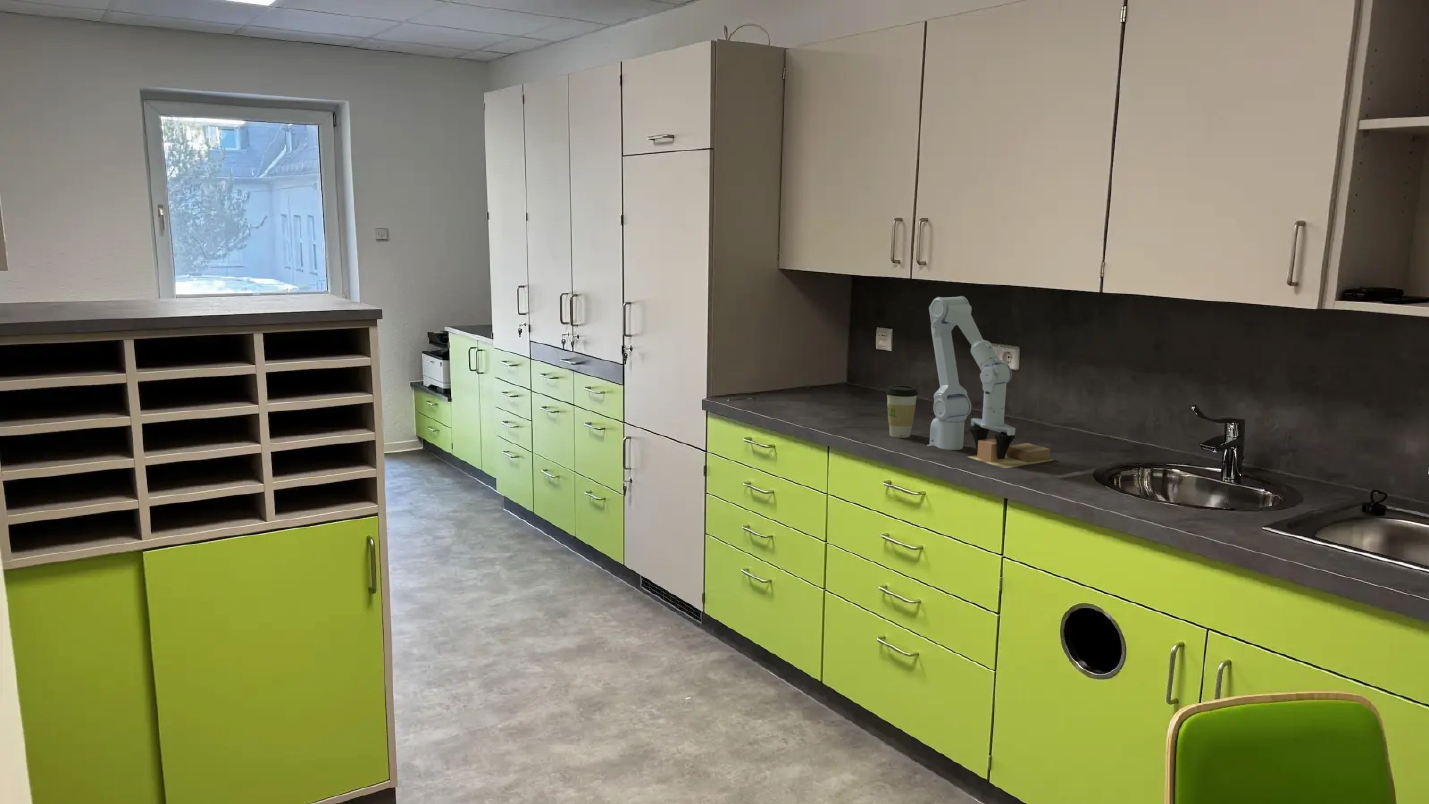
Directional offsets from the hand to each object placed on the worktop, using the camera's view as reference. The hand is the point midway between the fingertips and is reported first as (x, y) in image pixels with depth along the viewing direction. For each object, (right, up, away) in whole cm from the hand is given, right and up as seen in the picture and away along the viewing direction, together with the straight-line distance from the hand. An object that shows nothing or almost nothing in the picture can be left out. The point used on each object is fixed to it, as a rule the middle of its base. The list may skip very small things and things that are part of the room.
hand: (990, 455), depth 261 cm
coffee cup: (-19, +4, +32) cm, 37 cm away
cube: (0, -1, 0) cm, 1 cm away
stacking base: (+6, -2, +1) cm, 6 cm away
